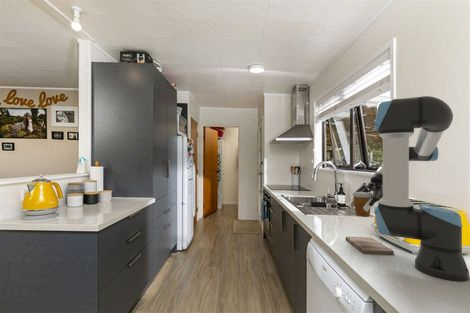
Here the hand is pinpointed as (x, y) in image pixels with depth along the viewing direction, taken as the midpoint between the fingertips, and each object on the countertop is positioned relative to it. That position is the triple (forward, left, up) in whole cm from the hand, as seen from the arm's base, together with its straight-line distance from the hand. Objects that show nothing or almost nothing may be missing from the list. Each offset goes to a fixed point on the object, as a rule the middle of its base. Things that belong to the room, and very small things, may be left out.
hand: (357, 208), depth 123 cm
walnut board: (-9, -1, -16) cm, 19 cm away
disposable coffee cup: (+1, -3, -4) cm, 5 cm away
